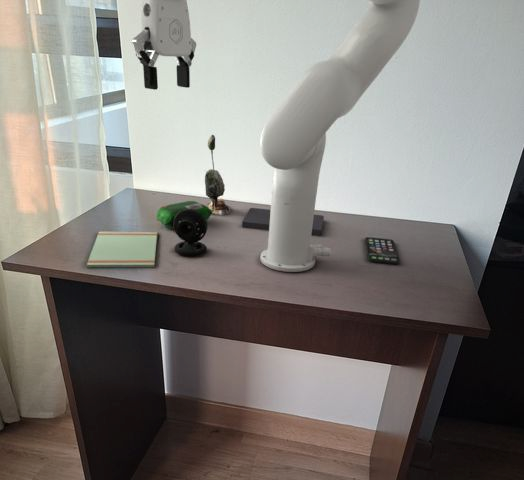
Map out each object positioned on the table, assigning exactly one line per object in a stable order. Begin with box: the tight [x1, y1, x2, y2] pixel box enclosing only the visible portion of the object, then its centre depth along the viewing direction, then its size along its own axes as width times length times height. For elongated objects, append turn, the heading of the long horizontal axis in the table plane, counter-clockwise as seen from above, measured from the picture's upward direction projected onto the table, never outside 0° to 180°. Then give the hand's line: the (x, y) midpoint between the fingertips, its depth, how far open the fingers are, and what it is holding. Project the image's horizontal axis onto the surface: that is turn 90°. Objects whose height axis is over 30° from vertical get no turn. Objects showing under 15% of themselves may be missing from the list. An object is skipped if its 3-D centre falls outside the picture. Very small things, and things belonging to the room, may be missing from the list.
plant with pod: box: [204, 134, 231, 216], centre depth 133 cm, size 8×11×20 cm
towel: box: [86, 231, 158, 268], centre depth 111 cm, size 14×20×1 cm
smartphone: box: [364, 236, 401, 265], centre depth 120 cm, size 7×1×15 cm
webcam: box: [173, 209, 208, 258], centre depth 110 cm, size 8×8×10 cm
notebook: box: [241, 207, 325, 237], centre depth 133 cm, size 13×2×21 cm
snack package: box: [156, 200, 213, 230], centre depth 127 cm, size 7×16×5 cm, turn 131°
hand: (167, 87), depth 102 cm, fingers open, 9 cm apart
